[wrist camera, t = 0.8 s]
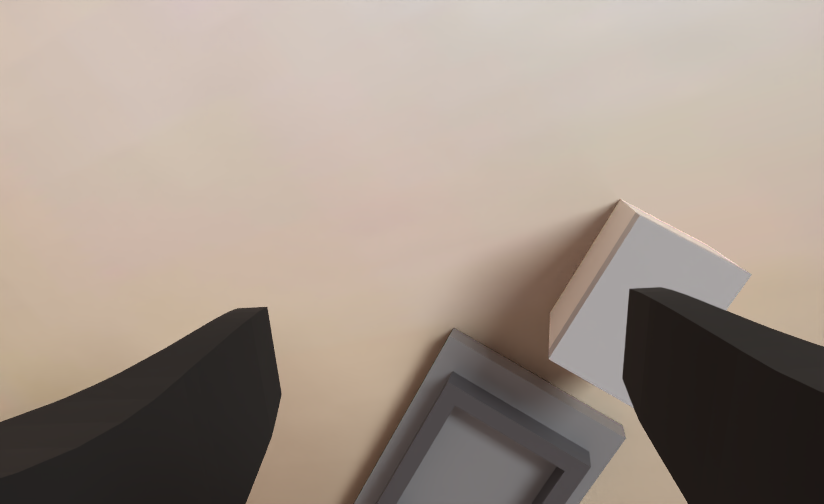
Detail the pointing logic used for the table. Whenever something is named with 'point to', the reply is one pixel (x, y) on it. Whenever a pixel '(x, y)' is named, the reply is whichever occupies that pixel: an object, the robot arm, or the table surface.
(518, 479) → the grey rectangular tray
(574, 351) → the plug
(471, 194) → the table surface
